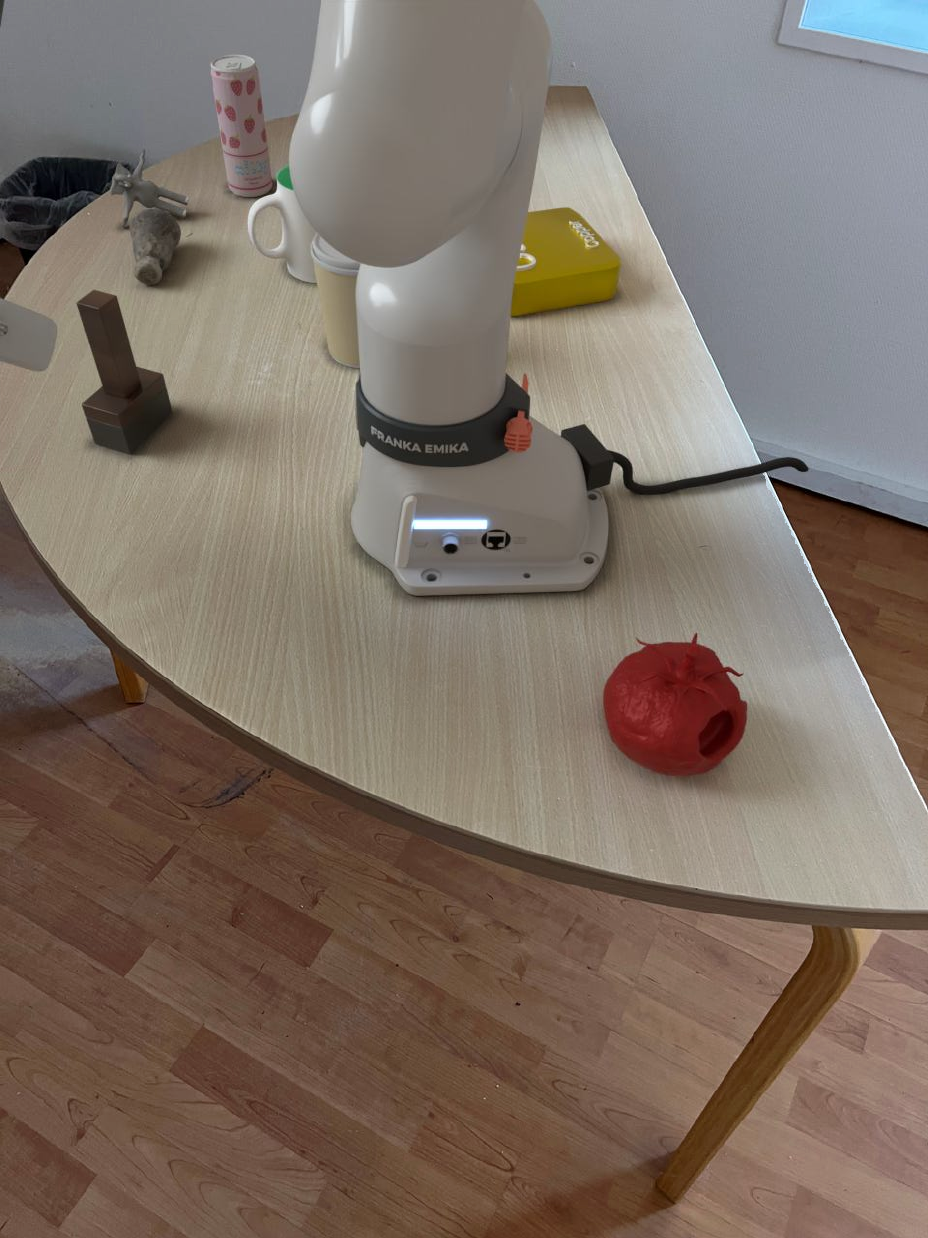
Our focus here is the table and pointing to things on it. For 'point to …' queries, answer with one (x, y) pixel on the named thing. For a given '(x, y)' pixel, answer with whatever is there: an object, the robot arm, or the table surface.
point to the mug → (287, 229)
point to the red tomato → (674, 708)
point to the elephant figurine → (144, 191)
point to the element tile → (562, 264)
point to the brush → (119, 380)
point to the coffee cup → (337, 300)
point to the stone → (153, 243)
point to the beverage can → (241, 124)
